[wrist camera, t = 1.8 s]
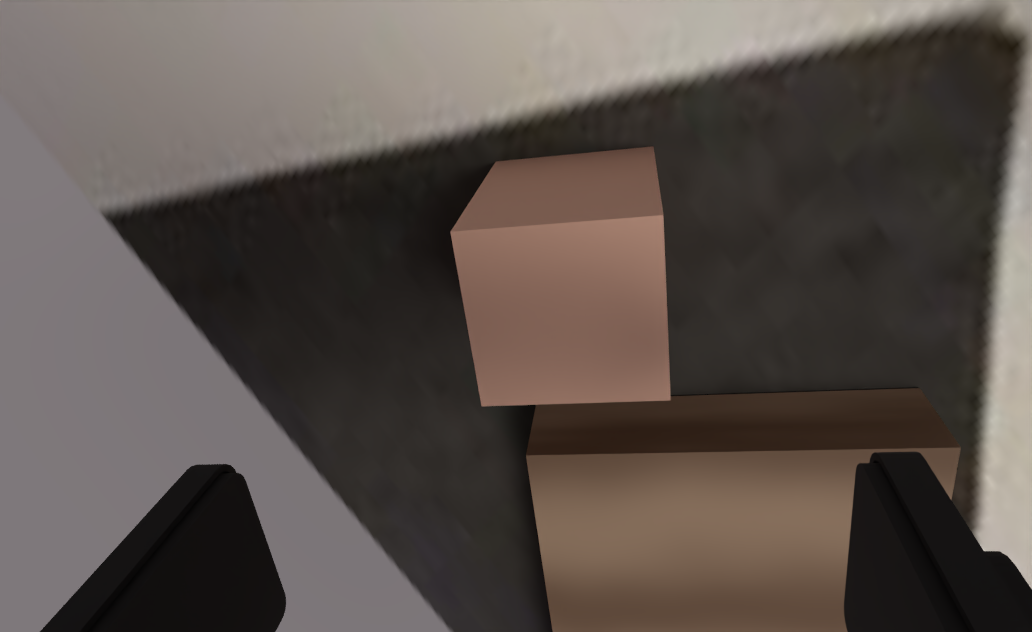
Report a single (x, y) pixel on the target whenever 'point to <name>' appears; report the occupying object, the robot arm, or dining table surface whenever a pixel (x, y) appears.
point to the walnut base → (713, 505)
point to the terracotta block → (566, 280)
